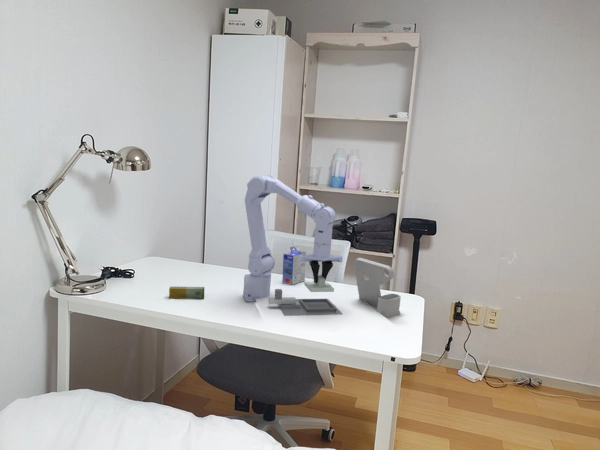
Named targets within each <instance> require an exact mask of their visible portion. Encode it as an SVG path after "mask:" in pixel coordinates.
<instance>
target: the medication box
mask: <svg viewBox="0 0 600 450" xmlns="http://www.w3.org/2000/svg"><path fill="white" fill-rule="evenodd" d="M168 293H169V294H168V300H171V299H172V300H205V286H169V290H168Z"/></svg>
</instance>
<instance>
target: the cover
mask: <svg viewBox="0 0 600 450" xmlns="http://www.w3.org/2000/svg"><path fill="white" fill-rule="evenodd" d="M303 285H304V286H305V288H307V290H309V292H311V293H334V292H335V288H334V287H333V286H332V285H331V284H330V283H329V282H328V281H326V280H325V278H324V277H323V276H322V273H318V283H315V282H314V281H304V284H303Z"/></svg>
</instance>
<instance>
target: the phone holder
mask: <svg viewBox="0 0 600 450" xmlns="http://www.w3.org/2000/svg"><path fill="white" fill-rule="evenodd" d="M353 267H354V273H355V279H356V286H357V291H358V298H359V300H362V301H365V302H366V303H367V304H369V305H370V307H372V308H373V309H374V310H375V311H376V312H377V313H379V314H381V316H383V317H384V318H385V319H389V318H391V317H395V316H398V315H400V314H401V311H400V307H401V306H400V305H401V295H399V294H396V293H388V294H384V295H382V294H381V285H383V284H385V283H388V282H390V281H391V280H392V279H394V278H395V272H394V269H393V268H392V267H391V266H390V265H387V264H383V263H380V262H377V261H373V260H370V259H366V258H362V257H358V258H355V260H354V261H353ZM386 271H387V273H388V274H387V273H386ZM364 274H365V275H366V276H367V277H368V280H367V279H365V277H364Z"/></svg>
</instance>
